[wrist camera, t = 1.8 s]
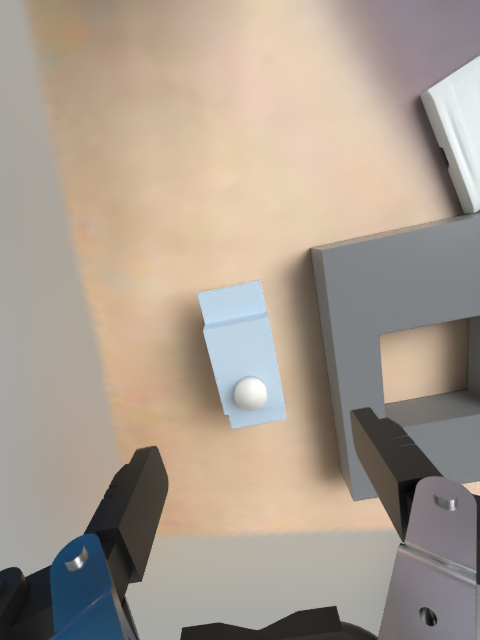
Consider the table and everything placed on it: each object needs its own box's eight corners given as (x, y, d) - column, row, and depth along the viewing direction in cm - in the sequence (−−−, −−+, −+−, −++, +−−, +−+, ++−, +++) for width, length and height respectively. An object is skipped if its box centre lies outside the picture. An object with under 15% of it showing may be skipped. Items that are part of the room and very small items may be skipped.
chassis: (310, 247, 21) (321, 250, 18) (515, 203, 20) (562, 199, 17) (341, 471, 26) (353, 501, 23) (501, 445, 25) (535, 472, 23)
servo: (204, 284, 22) (192, 301, 16) (257, 273, 21) (263, 286, 16) (232, 401, 24) (231, 448, 19) (280, 392, 24) (292, 438, 19)
